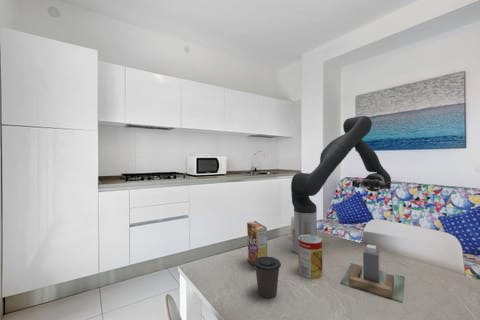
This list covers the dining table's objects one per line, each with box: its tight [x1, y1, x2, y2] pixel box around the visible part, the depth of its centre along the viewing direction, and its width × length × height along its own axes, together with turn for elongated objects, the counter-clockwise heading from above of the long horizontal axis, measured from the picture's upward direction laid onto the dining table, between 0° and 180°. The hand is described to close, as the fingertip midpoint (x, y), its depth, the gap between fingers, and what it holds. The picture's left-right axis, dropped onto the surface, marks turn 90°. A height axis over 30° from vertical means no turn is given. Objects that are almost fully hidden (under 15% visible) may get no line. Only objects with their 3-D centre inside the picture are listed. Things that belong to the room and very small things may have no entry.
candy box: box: [246, 220, 269, 266], centre depth 85 cm, size 9×4×15 cm, turn 23°
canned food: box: [298, 235, 323, 280], centre depth 79 cm, size 8×8×12 cm
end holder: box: [339, 263, 405, 303], centre depth 73 cm, size 16×16×2 cm
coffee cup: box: [253, 256, 282, 300], centre depth 67 cm, size 8×8×10 cm
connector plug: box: [362, 243, 381, 283], centre depth 71 cm, size 4×4×12 cm
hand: (368, 186), depth 92 cm, fingers open, 8 cm apart
